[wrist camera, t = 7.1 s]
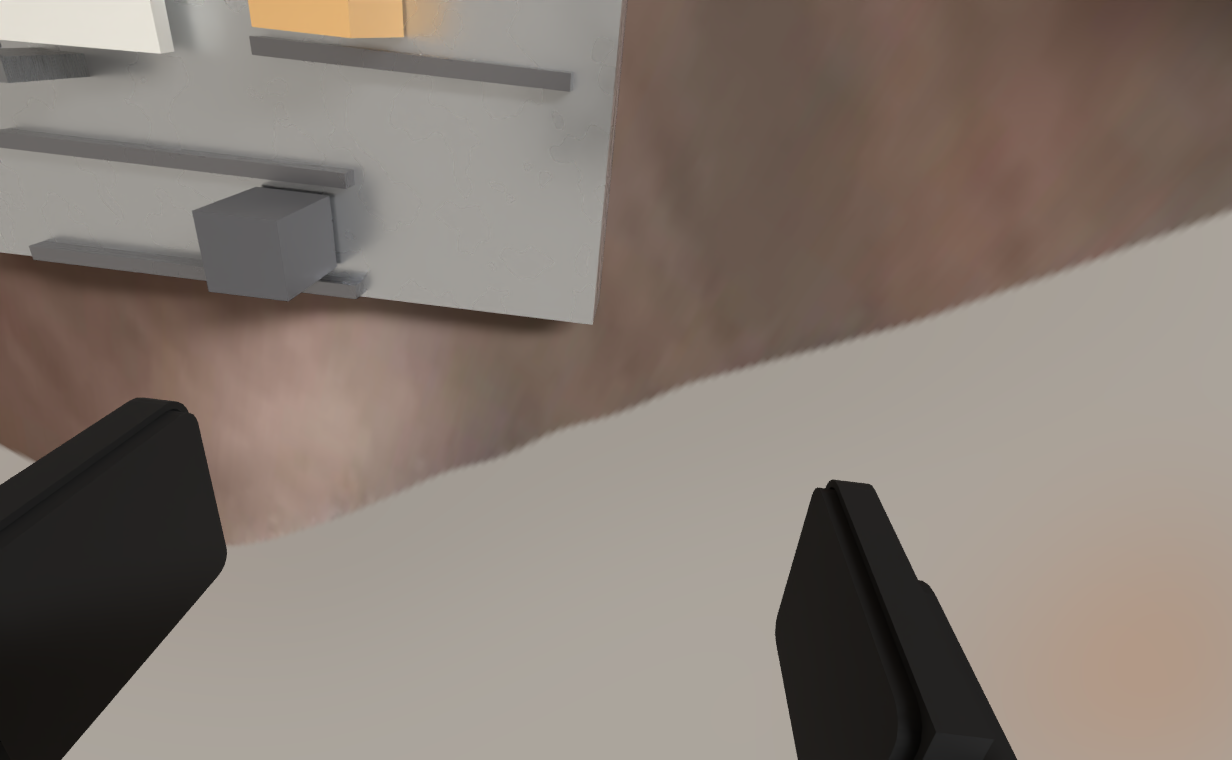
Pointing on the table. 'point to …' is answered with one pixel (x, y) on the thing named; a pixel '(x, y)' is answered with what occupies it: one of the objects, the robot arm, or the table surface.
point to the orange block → (330, 17)
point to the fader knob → (266, 242)
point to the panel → (334, 147)
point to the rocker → (88, 24)
